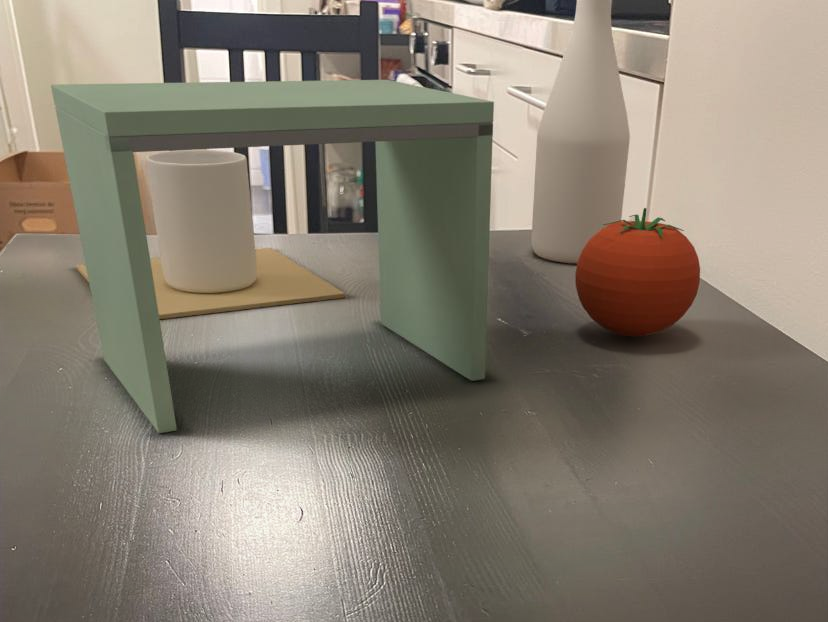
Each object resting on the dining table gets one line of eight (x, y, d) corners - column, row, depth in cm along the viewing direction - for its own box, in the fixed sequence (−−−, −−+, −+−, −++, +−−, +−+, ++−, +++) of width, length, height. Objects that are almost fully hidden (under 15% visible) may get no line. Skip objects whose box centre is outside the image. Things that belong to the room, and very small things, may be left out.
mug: (245, 261, 98) (233, 143, 92) (265, 291, 89) (253, 163, 83) (158, 265, 96) (139, 145, 90) (168, 297, 86) (148, 165, 80)
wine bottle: (543, 266, 101) (565, -92, 84) (521, 246, 109) (538, -86, 92) (629, 264, 103) (668, -86, 86) (602, 244, 111) (633, -81, 94)
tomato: (597, 357, 77) (610, 223, 71) (553, 320, 85) (562, 197, 80) (712, 349, 80) (734, 219, 74) (659, 314, 88) (674, 195, 82)
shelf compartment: (158, 434, 62) (104, 111, 52) (104, 360, 73) (50, 84, 63) (485, 379, 72) (494, 101, 62) (393, 322, 83) (387, 79, 73)
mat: (124, 323, 81) (123, 318, 81) (76, 269, 95) (75, 265, 95) (345, 297, 89) (344, 293, 89) (271, 251, 104) (270, 247, 103)
